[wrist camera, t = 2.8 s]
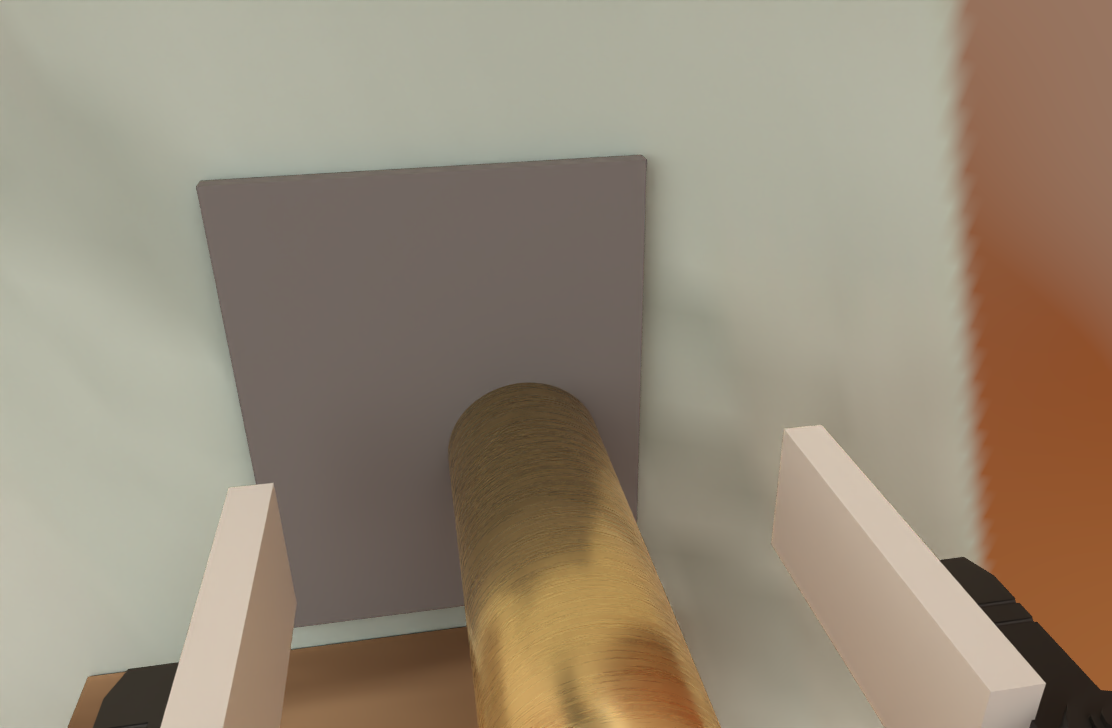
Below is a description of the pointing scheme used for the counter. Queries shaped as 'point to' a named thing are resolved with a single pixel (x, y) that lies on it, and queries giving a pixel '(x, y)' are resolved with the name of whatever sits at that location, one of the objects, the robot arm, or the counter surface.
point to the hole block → (360, 685)
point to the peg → (560, 576)
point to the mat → (417, 347)
